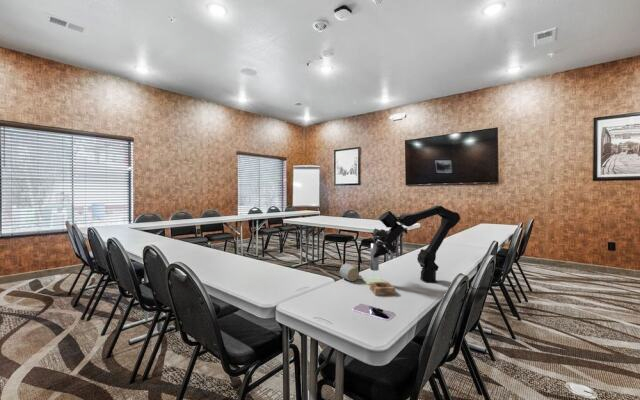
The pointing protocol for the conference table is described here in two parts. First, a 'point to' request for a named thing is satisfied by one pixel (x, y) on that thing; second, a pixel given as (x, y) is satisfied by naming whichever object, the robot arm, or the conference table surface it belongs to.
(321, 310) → the conference table surface
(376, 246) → the peg
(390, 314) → the mobile phone
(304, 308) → the conference table surface
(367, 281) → the coaster
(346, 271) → the ceramic mug
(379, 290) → the wooden peg socket
